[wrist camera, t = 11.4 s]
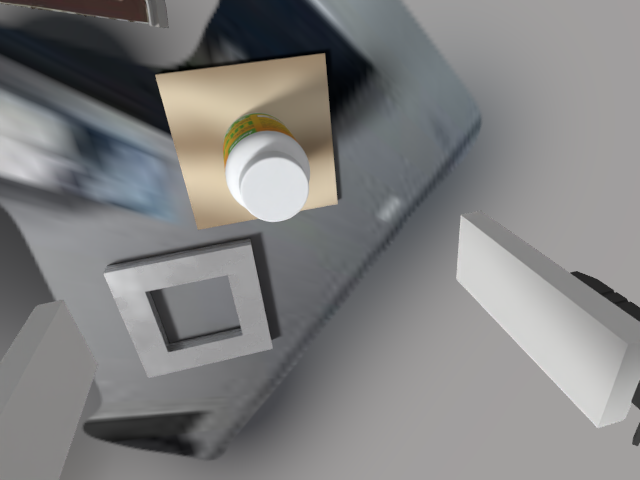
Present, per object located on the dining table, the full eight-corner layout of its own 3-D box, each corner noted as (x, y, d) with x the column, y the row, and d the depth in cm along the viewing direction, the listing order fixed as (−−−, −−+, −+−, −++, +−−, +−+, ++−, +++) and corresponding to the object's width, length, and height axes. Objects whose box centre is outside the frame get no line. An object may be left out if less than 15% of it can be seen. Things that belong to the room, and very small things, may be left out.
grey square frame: (106, 265, 34) (103, 273, 33) (250, 238, 35) (251, 244, 34) (150, 368, 39) (148, 377, 38) (271, 340, 41) (272, 348, 40)
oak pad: (156, 74, 28) (155, 75, 28) (323, 53, 30) (324, 53, 29) (198, 226, 34) (198, 229, 33) (335, 201, 36) (337, 203, 35)
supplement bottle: (241, 97, 29) (254, 126, 21) (304, 132, 32) (338, 170, 23) (210, 162, 31) (211, 212, 23) (272, 190, 33) (293, 245, 25)
